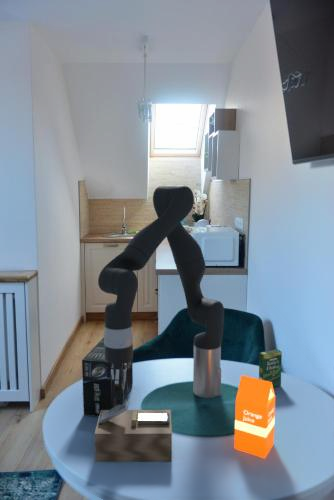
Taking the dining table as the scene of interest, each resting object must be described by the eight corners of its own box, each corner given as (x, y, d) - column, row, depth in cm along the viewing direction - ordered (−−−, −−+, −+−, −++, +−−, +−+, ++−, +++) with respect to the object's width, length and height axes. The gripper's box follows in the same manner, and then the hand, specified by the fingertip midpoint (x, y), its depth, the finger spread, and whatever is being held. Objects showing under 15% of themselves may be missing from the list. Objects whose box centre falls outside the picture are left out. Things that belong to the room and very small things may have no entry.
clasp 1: (99, 425, 119) (97, 422, 119) (101, 417, 123) (99, 414, 122) (127, 410, 118) (125, 407, 118) (128, 403, 122) (126, 400, 122)
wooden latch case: (170, 435, 128) (170, 404, 127) (171, 461, 116) (171, 427, 115) (101, 435, 128) (100, 404, 126) (95, 462, 116) (94, 428, 114)
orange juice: (243, 435, 128) (246, 369, 125) (273, 444, 124) (276, 376, 121) (233, 449, 122) (235, 380, 119) (265, 459, 117) (267, 388, 114)
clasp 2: (169, 416, 123) (169, 413, 123) (169, 424, 119) (169, 420, 119) (138, 416, 123) (138, 412, 123) (137, 424, 119) (137, 420, 119)
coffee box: (262, 390, 156) (263, 354, 154) (257, 386, 158) (258, 351, 156) (281, 386, 159) (282, 351, 157) (276, 383, 161) (277, 348, 159)
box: (113, 419, 137) (112, 361, 134) (82, 415, 139) (81, 358, 136) (133, 385, 159) (133, 335, 156) (107, 383, 161) (106, 333, 158)
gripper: (131, 351, 111) (131, 416, 113) (134, 333, 124) (134, 391, 126) (101, 351, 111) (102, 416, 113) (107, 333, 124) (108, 391, 126)
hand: (119, 403), depth 120 cm, fingers closed
